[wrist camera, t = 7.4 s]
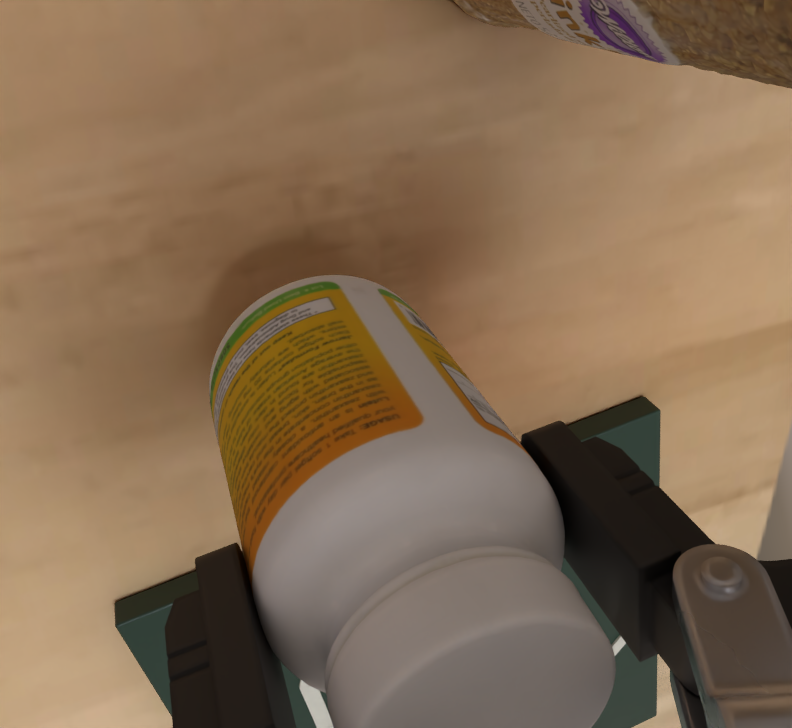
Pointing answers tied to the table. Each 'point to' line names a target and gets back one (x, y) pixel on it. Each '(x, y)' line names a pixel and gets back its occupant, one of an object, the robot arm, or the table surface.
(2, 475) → the table surface
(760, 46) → the spice jar
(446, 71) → the table surface
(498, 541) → the supplement bottle
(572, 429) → the chalkboard
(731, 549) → the robot arm
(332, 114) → the table surface
